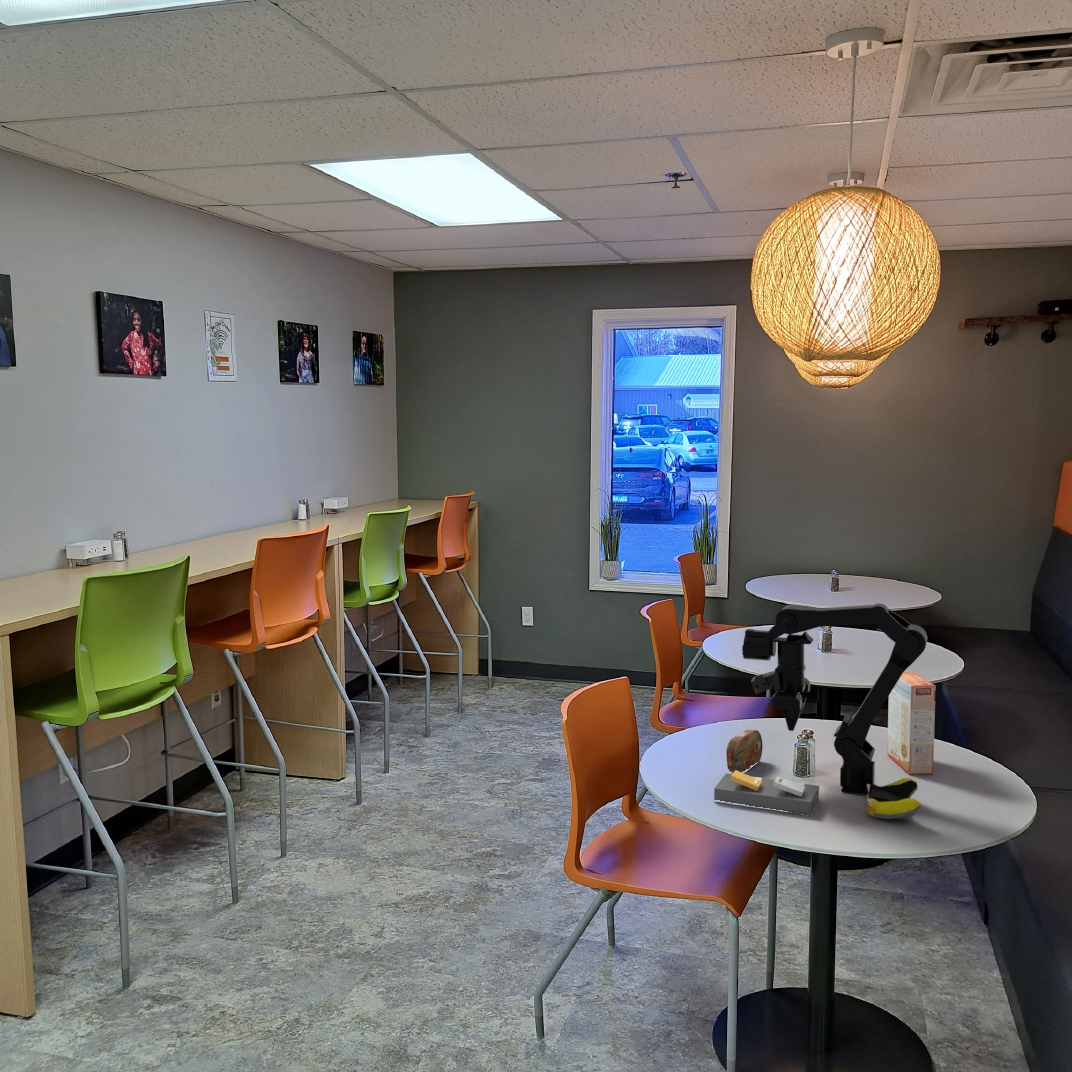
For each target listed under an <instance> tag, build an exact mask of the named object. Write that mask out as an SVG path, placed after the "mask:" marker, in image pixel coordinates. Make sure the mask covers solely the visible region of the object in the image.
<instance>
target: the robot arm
mask: <svg viewBox="0 0 1072 1072" xmlns="http://www.w3.org/2000/svg"><path fill="white" fill-rule="evenodd" d="M774 622H775V624H774V625H772V627H771V628H769V630H757V629H753V628H746V629H745V631H744V637H743V644H742V647H741V650H742V651H741V652H742V653H741V654H742V657H743V659H745V660H754V661H757V660H758V661H771V659H772V657H776V654H777V666H776V668H774V670H772V671H768V672H765V673H760V674H758V675H757V674H756V675H755V676H753V677H752V679H751V680H750V681H751V688H752V689H753V690H754V692H755V694H756V695H757V694H761V693H763V692H766V691H769V690H772V689H774V694H773V695H772V697H771V698H770V708H771V709H772V710H773V709H776V710H782V712H783V714H784V719H785V724H786V726H787V729H788V731H789V732H794V731H795V728H796V725H797V723H798V720H799V718H800V715H801V714H802V710H803V709H804V706H805V703H806V700H807V696H802V694H801V693H804V691H805V692H806V693H810V690H811V682H810V680H809V679H808V678H807V677H805V671H806V664H805V645H811V644H812V643H813V642H814V638H813V637H812V636H811V635H810V634H809V633H808V631H810V630H814V629H816V628H822V627H823V628H824V627H839V626H842V627H843V626H858V625H875V626H876V627H878V629H880V630H881V631H882V632H883V634H885V635H886V636H887V637H888V638H889V639H890V640H891V641H893V643H894V646H893V648H892V650H891V653H890V656H889V659H888V661H887V662H886V664H885V666H884V667H883V669H882V671H881V673H880V674H879V676H878V677H877V679H876V681H875V682H874V684H873V685H872V687H871V689H870V690H869V692H868V693H867V695H866V697H865V699H864V700H863V702H862V704H861V705H860V707H859V708H858V710H857V711H856V712H855V713H854V714H853V715H852V716H850V714H848V713H846V714H845V715H844V718H843V719H842V722H841V724H840V725H838V726H837V728H836V730H835V732H834V733H833V737H835V739H834V742H833V747H834V750H835V751H836V753H837V754H838V755H839V756H840V757H841V758H842V765H841V766H840V769H839V771H840V772H839V777H840V778H839V786H840V787H841V789H840V790H841V791H840V792H843V793H847V794H855V795H864V796H867V794H868V793H869V792H868V789H867V784H875V778H876V777H875V775H876V774H875V773H876V771H875V767H876V766H875V765H876V763H875V762H876V761H875V760H874V761H873V757H874V755H875V751H876V748H874V746H873V745H871V743H870V742H869V741H868V740H867V736H868V733H869V731H870V728H871V725H872V724H873V722H874V720H875V718H876V717H877V716H878V714H879V712H880V710H881V709H882V707H883V706H884V705H885V703H886V701H887V699H889V695H890V693H891V691H892V690H893V688H894V686H895V685H896V683H897V682H898V680H899V678H900V677H901V675H902V674H903V672H904V671H907V669H908V668H910V666H912V665H913V663H915V661H916V660H917V659H918V658H919V657H920V656H921V655H922V654H923V653H924V651H925V649H926V646H927V642H928V635H927V632H926V630H925V628H923V627H921V626H920V625H917V624H913V623H912V624H911V623H910V622H908V621H907V620H906V619H905V618H904V617H903V616H902V617H901V615H898V613H896V612H894V611H893V610H891V609H890V608H888V607H887V605H886V604H884V603H875V604H867V605H865V604H864V605H853V606H837V607H835V606H834V607H814V606H809V605H802V604H794V603H793V604H788V605H786V606H784V607H783V608H782V609H780V610H779V611H778V613H776V616H775V621H774ZM802 632H803V633H802ZM798 633H802V634H798ZM783 635H787V637H781V636H783Z"/></svg>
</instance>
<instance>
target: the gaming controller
mask: <svg viewBox="0 0 1072 1072" xmlns="http://www.w3.org/2000/svg"><path fill="white" fill-rule="evenodd" d="M867 789H868V792H869V793H868V794H867V795H866V803H867V805H866V813H867V814H869V815H870V816H871V817H874V818H878V819H879V818H880V819H887V820H890V819H892V820H893V819H894V820H896V819H897V820H906V819H908V818H910V817H912V816H914V815H915V814H916V813H917V812H919V810H921V802H920V801H919V800H917V799H916V798H913V797H912V796H913V795H914V794H915V792H916V791H917V790H918V783H917V781H916V780H915V779H913V778H911V777H908V778H907V777H905V778H904V777H903V778H900V779H898V780H895V781H893V782H891V783H888V784H885V785H881V786H879V785H877V784H867Z"/></svg>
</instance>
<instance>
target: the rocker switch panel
mask: <svg viewBox="0 0 1072 1072" xmlns="http://www.w3.org/2000/svg"><path fill="white" fill-rule="evenodd" d="M732 774H733V773H725V774H724V775H723V777H722V778H721V779H720V780H719V782H718V783H717V784H716V785H715V787H714V789H713V791H714V792H713V794H714V795H713V797H714V799H713V800H720V801H725V802H731V803H737V804H738V803H739V804H745V805H749V806H755V807H763V808H770V809H776V810H783V811H788V812H792V813H797V814H796V815H798V814H804V815H809V816H808V817H812V815H813V813H814V811H815V809H814V808H816V806H817V804H818V803H819V801H820V785H815V784H809V783H803V782H795V783H797V784H800V785H803V786H805V791H804V793H803V795H802V796H801V797H800V796H798V795H795V794H792V793H790V792H787V791H785V790H782V789H779V788H777V787H774V786H773V783H774V781H775V779H773V778H772V779H771V778H765V777H764V778H763V777H758V776H756V777H755V776H752V777H753V778H756V779H758V780H761V781H762V784H761V786H760V788H759V789H758V791H756V790H753V789H751V788H749V787H746V786H744V785H742V784H739V783H737V782H734V781H732V780H730V778H731V775H732ZM813 810H814V811H813ZM804 815H803V816H804Z"/></svg>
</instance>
